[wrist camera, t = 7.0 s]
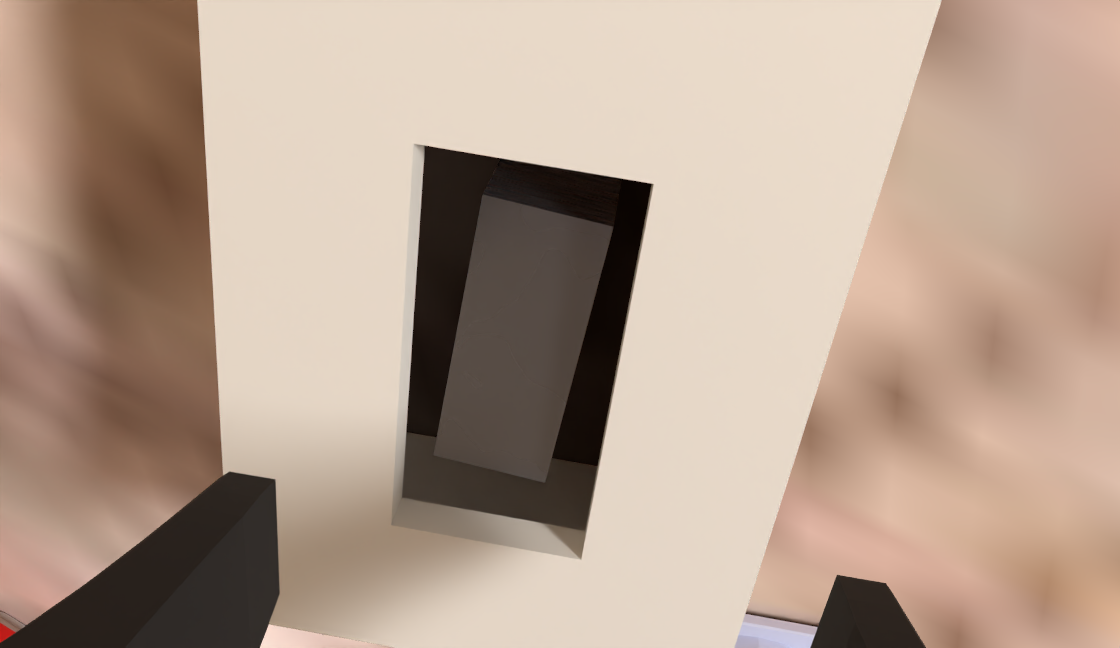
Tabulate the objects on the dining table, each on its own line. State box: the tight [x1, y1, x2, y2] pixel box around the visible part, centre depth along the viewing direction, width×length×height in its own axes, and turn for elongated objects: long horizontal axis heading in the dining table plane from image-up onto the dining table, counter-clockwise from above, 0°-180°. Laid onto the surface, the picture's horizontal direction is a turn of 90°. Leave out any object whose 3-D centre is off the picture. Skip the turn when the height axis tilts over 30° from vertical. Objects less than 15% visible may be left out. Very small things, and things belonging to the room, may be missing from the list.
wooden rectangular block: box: [433, 158, 621, 483], centre depth 19 cm, size 6×2×5 cm, turn 168°
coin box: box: [197, 0, 942, 648], centre depth 19 cm, size 14×10×6 cm
